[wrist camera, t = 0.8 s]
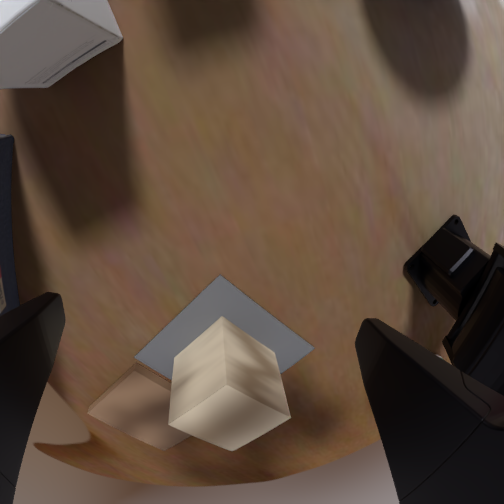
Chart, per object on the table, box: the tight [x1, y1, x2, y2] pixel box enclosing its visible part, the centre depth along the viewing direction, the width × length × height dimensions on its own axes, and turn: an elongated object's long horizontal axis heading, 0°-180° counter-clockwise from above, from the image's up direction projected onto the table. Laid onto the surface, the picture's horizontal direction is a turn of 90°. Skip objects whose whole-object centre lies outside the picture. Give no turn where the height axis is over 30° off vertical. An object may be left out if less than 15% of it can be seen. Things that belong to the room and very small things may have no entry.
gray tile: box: [134, 275, 315, 380], centre depth 26 cm, size 11×11×1 cm
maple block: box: [168, 316, 291, 451], centre depth 23 cm, size 6×6×7 cm
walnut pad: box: [88, 363, 192, 451], centre depth 28 cm, size 10×10×1 cm
